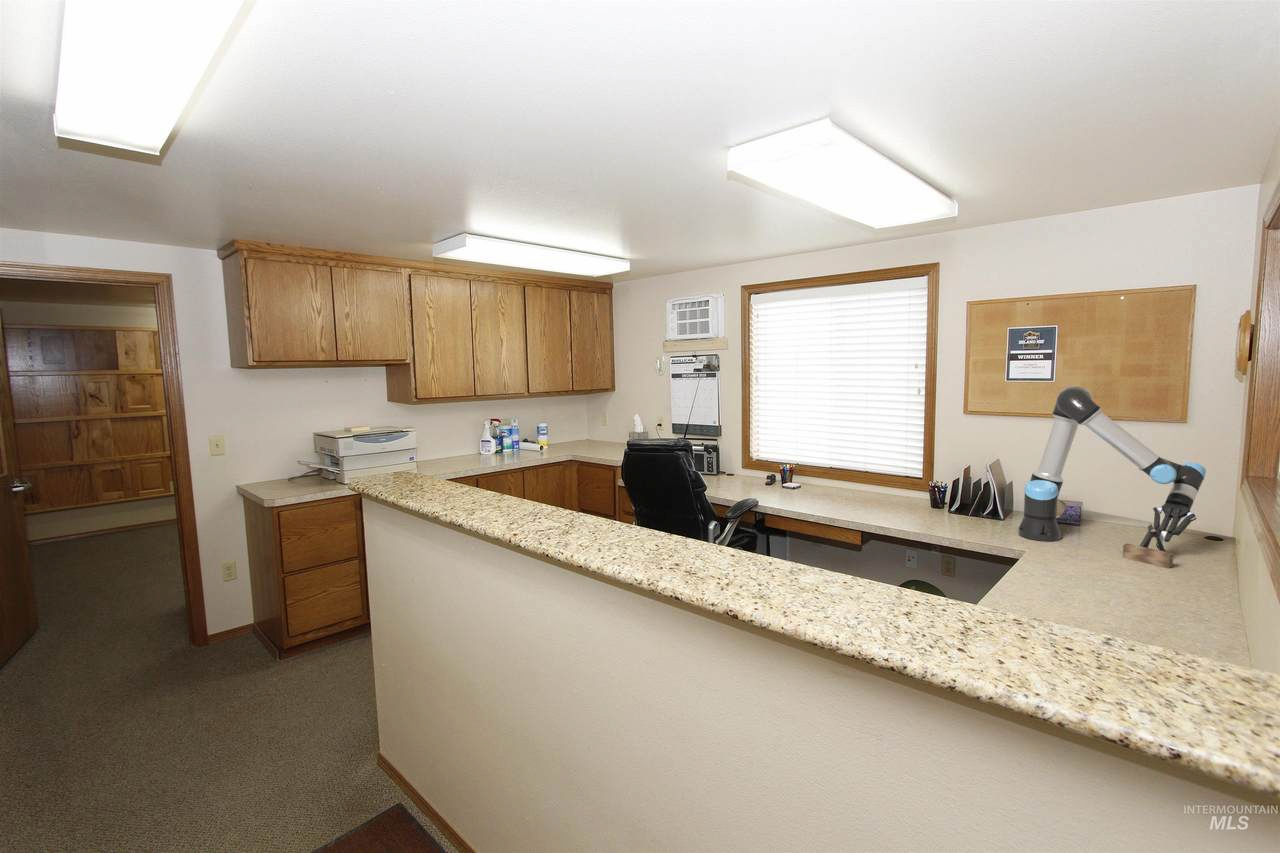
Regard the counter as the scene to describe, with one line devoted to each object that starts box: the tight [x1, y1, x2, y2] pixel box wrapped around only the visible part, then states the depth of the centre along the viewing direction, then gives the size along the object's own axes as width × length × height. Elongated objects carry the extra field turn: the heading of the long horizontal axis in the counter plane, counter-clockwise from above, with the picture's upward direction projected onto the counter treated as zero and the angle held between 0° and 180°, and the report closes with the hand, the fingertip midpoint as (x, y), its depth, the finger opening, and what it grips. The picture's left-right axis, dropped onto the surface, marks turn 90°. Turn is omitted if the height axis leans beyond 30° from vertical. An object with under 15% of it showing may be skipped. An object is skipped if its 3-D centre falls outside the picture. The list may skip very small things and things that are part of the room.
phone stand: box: [1139, 523, 1166, 552], centre depth 223 cm, size 9×6×12 cm, turn 53°
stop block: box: [1122, 543, 1174, 569], centre depth 218 cm, size 14×3×5 cm, turn 29°
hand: (1159, 547), depth 222 cm, fingers closed
